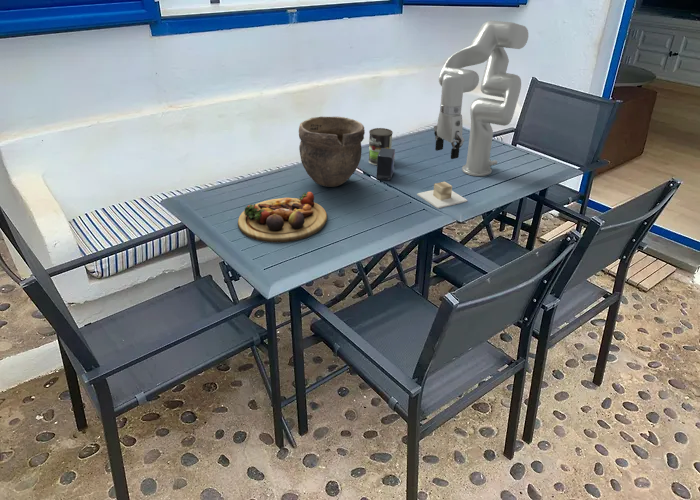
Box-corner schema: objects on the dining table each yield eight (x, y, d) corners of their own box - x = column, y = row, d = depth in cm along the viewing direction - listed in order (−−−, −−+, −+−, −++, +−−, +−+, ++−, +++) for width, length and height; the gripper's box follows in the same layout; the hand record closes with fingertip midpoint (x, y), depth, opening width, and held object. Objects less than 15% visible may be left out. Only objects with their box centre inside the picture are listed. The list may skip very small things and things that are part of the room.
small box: (391, 180, 229) (392, 157, 224) (375, 179, 230) (376, 156, 225) (394, 171, 238) (395, 148, 233) (379, 170, 239) (380, 147, 234)
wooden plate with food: (301, 196, 216) (300, 176, 212) (343, 227, 193) (343, 206, 189) (225, 217, 202) (222, 196, 198) (260, 253, 178) (258, 231, 174)
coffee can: (381, 167, 242) (382, 136, 235) (363, 161, 248) (364, 131, 240) (395, 161, 248) (397, 131, 241) (378, 155, 254) (379, 126, 247)
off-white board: (445, 188, 222) (446, 186, 222) (467, 201, 212) (467, 200, 212) (417, 194, 217) (417, 193, 217) (437, 208, 206) (437, 207, 206)
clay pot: (375, 187, 223) (377, 127, 210) (320, 201, 211) (318, 139, 199) (342, 166, 242) (342, 111, 230) (290, 178, 231) (286, 120, 218)
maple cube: (443, 193, 217) (444, 181, 214) (451, 197, 213) (452, 186, 211) (433, 195, 215) (434, 183, 212) (440, 200, 211) (441, 188, 209)
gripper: (474, 114, 191) (469, 159, 200) (445, 101, 205) (441, 145, 213) (456, 117, 189) (452, 163, 197) (428, 104, 202) (425, 148, 211)
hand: (446, 154), depth 205 cm, fingers open, 9 cm apart
